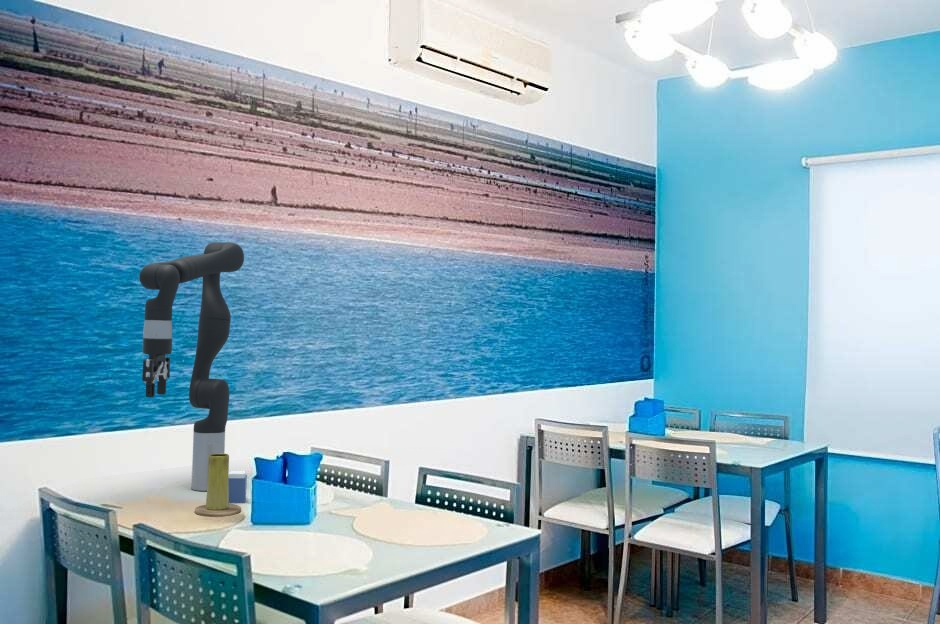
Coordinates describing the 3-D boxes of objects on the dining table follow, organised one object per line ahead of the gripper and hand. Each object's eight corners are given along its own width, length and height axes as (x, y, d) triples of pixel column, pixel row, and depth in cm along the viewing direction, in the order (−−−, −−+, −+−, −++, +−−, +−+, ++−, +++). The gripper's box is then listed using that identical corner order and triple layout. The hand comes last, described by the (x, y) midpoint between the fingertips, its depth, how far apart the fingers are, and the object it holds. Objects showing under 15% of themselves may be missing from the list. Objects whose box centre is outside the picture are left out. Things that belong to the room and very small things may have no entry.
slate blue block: (228, 499, 245) (229, 470, 245) (246, 499, 246) (247, 470, 246) (226, 503, 240) (227, 474, 240) (244, 503, 241) (245, 474, 241)
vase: (222, 511, 226) (224, 457, 226) (201, 509, 227) (202, 455, 227) (233, 506, 232) (234, 453, 232) (212, 504, 233) (214, 452, 233)
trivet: (202, 505, 236) (202, 502, 236) (246, 507, 236) (246, 503, 236) (188, 515, 224) (188, 512, 224) (234, 517, 224) (234, 513, 224)
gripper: (162, 338, 228) (160, 398, 228) (180, 336, 242) (178, 393, 242) (134, 337, 228) (132, 397, 228) (153, 335, 242) (151, 393, 242)
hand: (155, 395), depth 235 cm, fingers open, 8 cm apart
